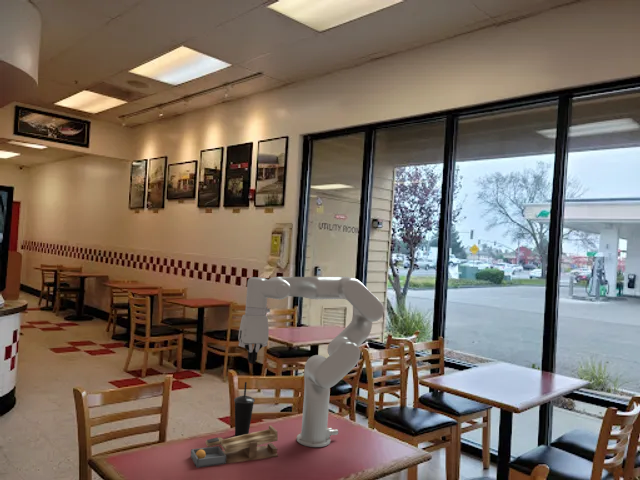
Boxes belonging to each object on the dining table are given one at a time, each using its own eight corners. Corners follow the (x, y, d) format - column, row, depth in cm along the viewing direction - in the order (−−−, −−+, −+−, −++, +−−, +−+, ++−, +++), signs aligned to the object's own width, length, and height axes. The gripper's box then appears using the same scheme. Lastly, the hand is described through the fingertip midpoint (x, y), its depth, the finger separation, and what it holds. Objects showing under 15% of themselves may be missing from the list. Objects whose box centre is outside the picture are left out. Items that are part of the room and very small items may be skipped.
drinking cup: (247, 441, 179) (252, 386, 179) (228, 438, 180) (232, 383, 181) (254, 434, 186) (258, 381, 187) (235, 431, 188) (239, 378, 188)
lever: (266, 429, 178) (266, 421, 178) (277, 440, 169) (277, 431, 169) (205, 443, 168) (205, 434, 168) (213, 455, 159) (213, 445, 159)
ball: (200, 445, 161) (192, 453, 160) (202, 449, 158) (194, 457, 157) (206, 452, 162) (198, 459, 161) (208, 456, 159) (200, 463, 158)
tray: (218, 453, 167) (219, 446, 167) (225, 463, 159) (226, 456, 159) (190, 457, 162) (191, 449, 162) (196, 467, 155) (197, 459, 155)
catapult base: (269, 446, 175) (270, 431, 175) (278, 456, 168) (279, 439, 168) (219, 453, 167) (220, 436, 167) (226, 463, 159) (227, 446, 160)
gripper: (271, 310, 184) (267, 359, 184) (232, 310, 177) (228, 361, 177) (278, 313, 177) (275, 364, 177) (239, 313, 171) (235, 366, 170)
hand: (251, 362), depth 177 cm, fingers closed
